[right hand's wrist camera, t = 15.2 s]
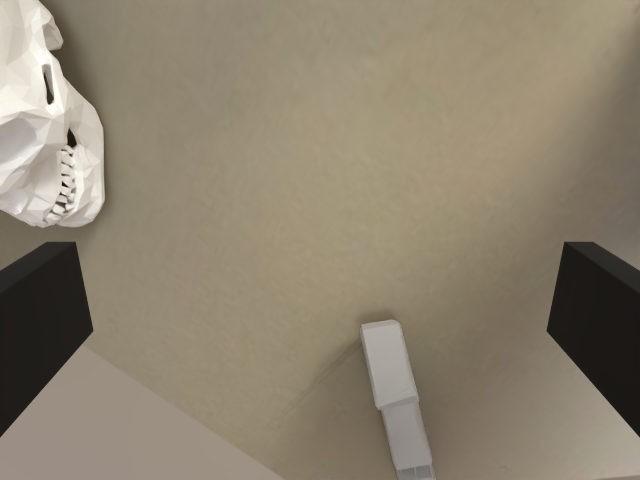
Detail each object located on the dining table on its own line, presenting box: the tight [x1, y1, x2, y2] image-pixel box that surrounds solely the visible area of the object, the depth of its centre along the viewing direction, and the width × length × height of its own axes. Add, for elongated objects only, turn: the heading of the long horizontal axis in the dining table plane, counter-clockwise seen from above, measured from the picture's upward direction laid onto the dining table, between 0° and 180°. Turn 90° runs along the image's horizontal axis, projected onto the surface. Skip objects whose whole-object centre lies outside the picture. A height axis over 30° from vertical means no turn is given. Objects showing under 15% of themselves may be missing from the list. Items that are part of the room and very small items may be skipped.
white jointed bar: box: [359, 319, 437, 480], centre depth 41 cm, size 20×4×7 cm, turn 15°
